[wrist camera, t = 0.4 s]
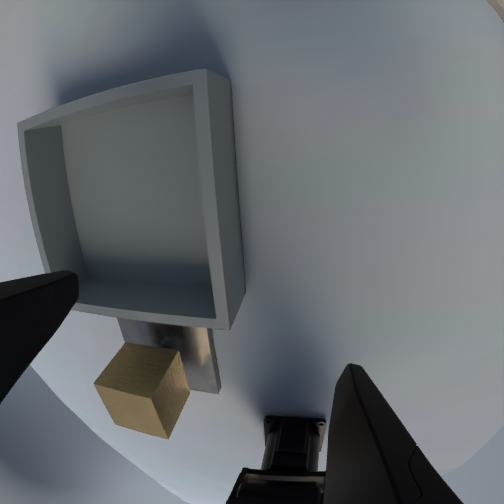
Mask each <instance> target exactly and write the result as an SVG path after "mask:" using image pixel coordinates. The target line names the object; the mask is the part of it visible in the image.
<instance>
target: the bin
mask: <svg viewBox="0 0 504 504" xmlns="http://www.w3.org/2000/svg"><path fill="white" fill-rule="evenodd" d="M17 126H18V138H19V148H20V156H21V164H22V171H23V178H24V184H25V190H26V195H27V201H28V206H29V211H30V216H31V220H32V224H33V229H34V233H35V237H36V241H37V245H38V249H39V252H40V256H41V260H42V263H43V266H44V270H45V273H51V272H56V271H62V270H70V271H72V272H75V273H76V274H77V275H78V283H79V298H78V300H77V302H76V303H75V305H74V306H73V307H72V309H71V310H75V311H80V312H86V313H92V314H98V315H105V316H111V317H118V318H125V319H132V320H139V321H147V322H155V323H163V324H171V325H180V326H190V327H200V328H211V329H222V330H230V329H231V326H232V324H233V322H234V319H235V317H236V314H237V312H238V310H239V307H240V305H241V302H242V300H243V298H244V295H245V293H246V289H245V276H244V263H243V250H242V236H241V223H240V209H239V195H238V181H237V167H236V152H235V137H234V122H233V107H232V91H231V80H230V79H228V78H226V77H224V76H222V75H220V74H218V73H216V72H214V71H211V70H209V69H207V68H204V69H198V70H192V71H186V72H180V73H175V74H170V75H165V76H160V77H156V78H151V79H147V80H143V81H138V82H134V83H131V84H127V85H123V86H119V87H116V88H112V89H109V90H105V91H102V92H99V93H95V94H92V95H89V96H86V97H83V98H80V99H77V100H74V101H71V102H68V103H66V104H63V105H60V106H58V107H55V108H52V109H50V110H47V111H45V112H42V113H40V114H37V115H35V116H32V117H30V118H28V119H26V120H23V121H21V122H19V123H17Z"/></svg>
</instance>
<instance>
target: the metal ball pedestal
mask: <svg viewBox="0 0 504 504" xmlns="http://www.w3.org/2000/svg"><path fill="white" fill-rule="evenodd" d="M117 319H118V322H119V326H120V329H121V332H122V335H123V338H124V341H125V343H126V342H130V343H135V344H141V345H147V346H154V347H160V348H167V349H174V350H179V352H180V356H181V360H182V364H183V368H184V372H185V376H186V379H187V383H188V387H189V390H195V391H201V392H208V393H215V394H219V391H220V389H221V384H220V378H219V372H218V367H217V361H216V355H215V349H214V343H213V337H212V330H211V328H200V327H190V326H180V325H171V324H163V323H155V322H147V321H139V320H132V319H125V318H118V317H117Z"/></svg>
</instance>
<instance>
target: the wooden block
mask: <svg viewBox="0 0 504 504" xmlns="http://www.w3.org/2000/svg"><path fill="white" fill-rule="evenodd" d="M94 385H95V387H96V389H97V391H98V393H99V395H100V397H101V399H102V401H103V403H104V405H105V407H106V409H107V410H108V412H109V414H110V416H111V418H112V419H113V421H114V423H115V424H116V425H119V426H122V427H125V428H129V429H132V430H135V431H139V432H142V433H146V434H150V435H153V436H157V437H161V438H165V439H169V437H170V435H171V433H172V431H173V428H174V426H175V424H176V422H177V420H178V418H179V416H180V413H181V411H182V409H183V407H184V405H185V403H186V401H187V398H188V396H189V394H190V390H189V387H188V383H187V379H186V376H185V372H184V368H183V364H182V360H181V356H180V352H179V350H174V349H167V348H160V347H154V346H147V345H141V344H135V343H130V342H126V343H125V344H124V345H123V346H122V348H121V349H120V350H119V351H118V353H117V354H116V355H115V356H114V358H113V359H112V360H111V362H110V363H109V364H108V365H107V367H106V368H105V369H104V370H103V372H102V373H101V374H100V376H99V377H98V378H97V380H96V381H95V382H94Z"/></svg>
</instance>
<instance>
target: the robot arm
mask: <svg viewBox="0 0 504 504" xmlns="http://www.w3.org/2000/svg"><path fill="white" fill-rule="evenodd" d="M78 298H79V283H78V275H77V274H76V273H75V272H72V271H70V270H62V271H56V272H51V273H46V274H41V275H36V276H31V277H26V278H21V279H15V280H10V281H5V282H0V404H1V402H2V401H3V399H4V398H5V397H6V395H7V394H8V393H9V391H10V390H11V388H12V387H13V386H14V384H15V383H16V382H17V380H18V379H19V378H20V376H21V375H22V374H23V372H24V371H25V370H26V368H27V367H28V366H29V365H30V363H31V362H32V361H33V359H34V358H35V357H36V356H37V354H38V353H39V352H40V351H41V349H42V348H43V347H44V346H45V344H46V343H47V342H48V341H49V340H50V338H51V337H52V336H53V335H54V333H55V332H56V331H57V329H58V328H59V327H60V325H61V324H62V322H63V321H64V319H65V318H66V316H67V315H68V313H69V312H70V310H71V309H72V307H73V306H74V305H75V303H76V302H77V300H78ZM325 428H326V420H324V419H307V418H289V417H275V416H266V417H265V418H264V431H265V447H266V448H265V453H264V457H263V462H262V466H261V470H258V469H249V468H244V467H243V469H242V472H241V473H240V474H239V476H238V478H237V481H236V483H235V485H234V487H233V490H232V492H231V494H230V496H229V498H228V500H227V501H226V504H463V503H462V501H461V500H460V499H459V498H458V497H457V495H456V494H455V493H454V492H453V491H452V489H451V488H450V487H449V486H448V485H447V484H446V482H445V481H444V480H443V479H442V478H441V476H440V475H439V474H438V473H437V471H436V470H435V469H434V468H433V466H432V465H431V464H430V462H429V461H428V459H427V458H426V457H425V455H424V454H423V453H422V451H421V450H420V448H419V447H418V446H416V443H415V441H414V440H413V438H412V437H411V435H410V434H409V432H408V431H407V430H406V428H405V427H404V425H403V424H402V422H401V421H400V420H399V418H398V417H397V415H396V414H395V412H394V411H393V410H392V408H391V407H390V405H389V404H388V402H387V401H386V400H385V398H384V397H383V395H382V394H381V393H380V391H379V390H378V388H377V387H376V386H375V384H374V383H373V381H372V380H371V379H370V377H369V376H368V374H367V373H366V372H365V370H364V369H363V367H362V366H360V365H356V364H352V363H350V364H348V365H347V366H346V367H345V369H344V371H343V373H342V374H341V376H340V378H339V380H338V381H337V384H336V387H335V393H334V400H333V406H332V412H331V418H330V425H329V433H328V449H327V465H326V471H318V472H317V470H318V458H319V452H320V451H321V448H322V443H323V438H324V433H325Z"/></svg>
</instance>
